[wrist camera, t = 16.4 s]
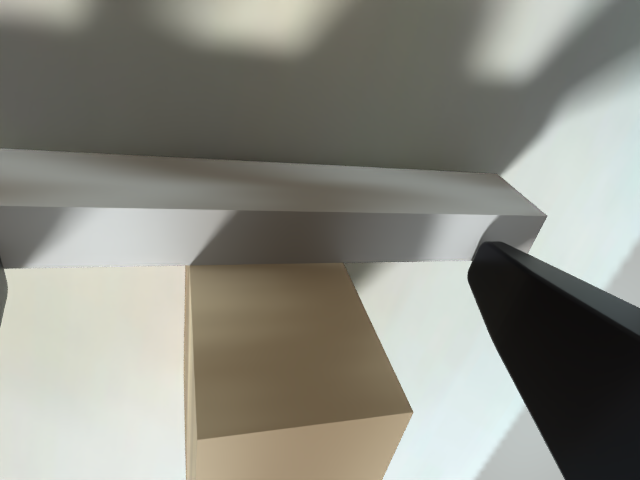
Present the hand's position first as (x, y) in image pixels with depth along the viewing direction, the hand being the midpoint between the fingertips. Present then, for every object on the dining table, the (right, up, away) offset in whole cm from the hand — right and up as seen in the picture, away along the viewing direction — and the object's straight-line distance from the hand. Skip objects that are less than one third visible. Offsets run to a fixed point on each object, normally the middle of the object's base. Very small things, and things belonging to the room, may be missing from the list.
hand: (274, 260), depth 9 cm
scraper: (-1, -1, +4) cm, 4 cm away
